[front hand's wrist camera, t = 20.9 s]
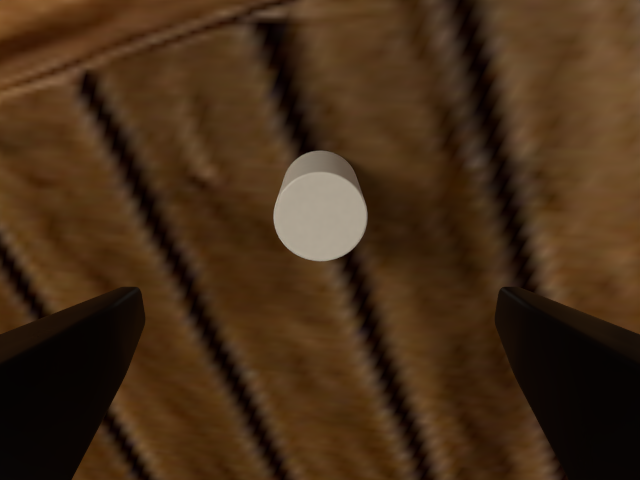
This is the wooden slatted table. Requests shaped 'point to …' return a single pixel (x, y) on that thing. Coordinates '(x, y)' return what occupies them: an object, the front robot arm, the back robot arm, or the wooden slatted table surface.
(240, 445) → the wooden slatted table surface
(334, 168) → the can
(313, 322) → the wooden slatted table surface
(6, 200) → the wooden slatted table surface
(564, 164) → the wooden slatted table surface
